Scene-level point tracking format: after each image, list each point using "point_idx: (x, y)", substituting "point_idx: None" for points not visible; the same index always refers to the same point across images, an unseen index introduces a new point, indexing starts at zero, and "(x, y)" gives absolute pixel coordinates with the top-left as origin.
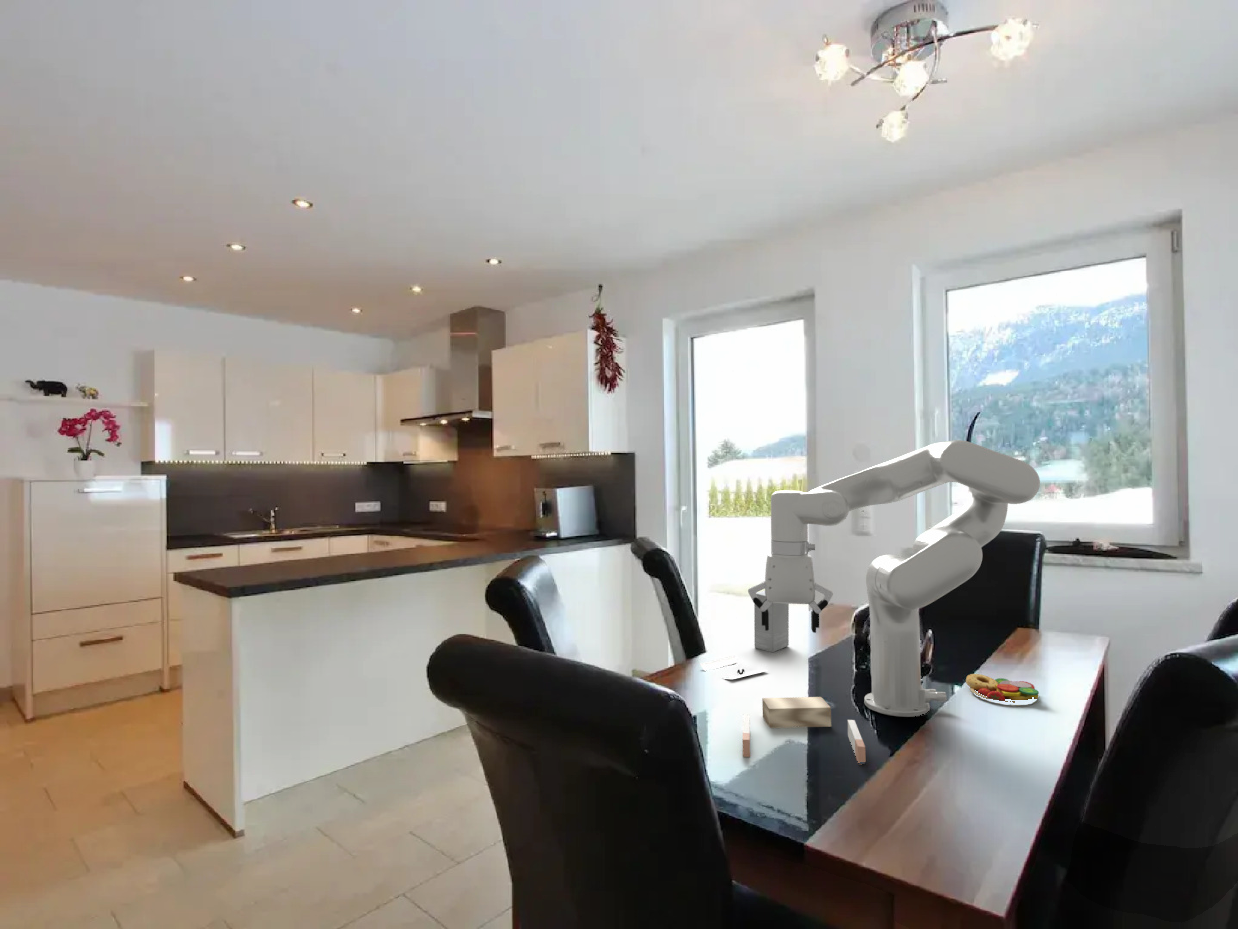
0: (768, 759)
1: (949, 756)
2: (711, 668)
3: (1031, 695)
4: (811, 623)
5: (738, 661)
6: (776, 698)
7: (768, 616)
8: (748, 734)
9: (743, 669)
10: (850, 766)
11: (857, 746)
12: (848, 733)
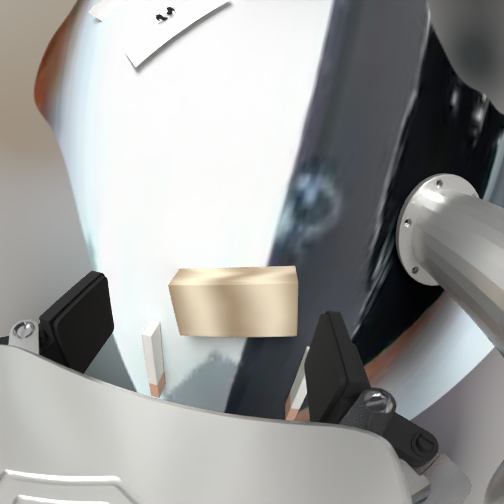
0: (185, 389)
1: (394, 382)
2: (114, 6)
3: None
4: (323, 341)
5: None
6: (196, 288)
7: (85, 369)
8: (156, 388)
9: (170, 8)
10: (274, 406)
11: (286, 417)
12: (305, 355)
